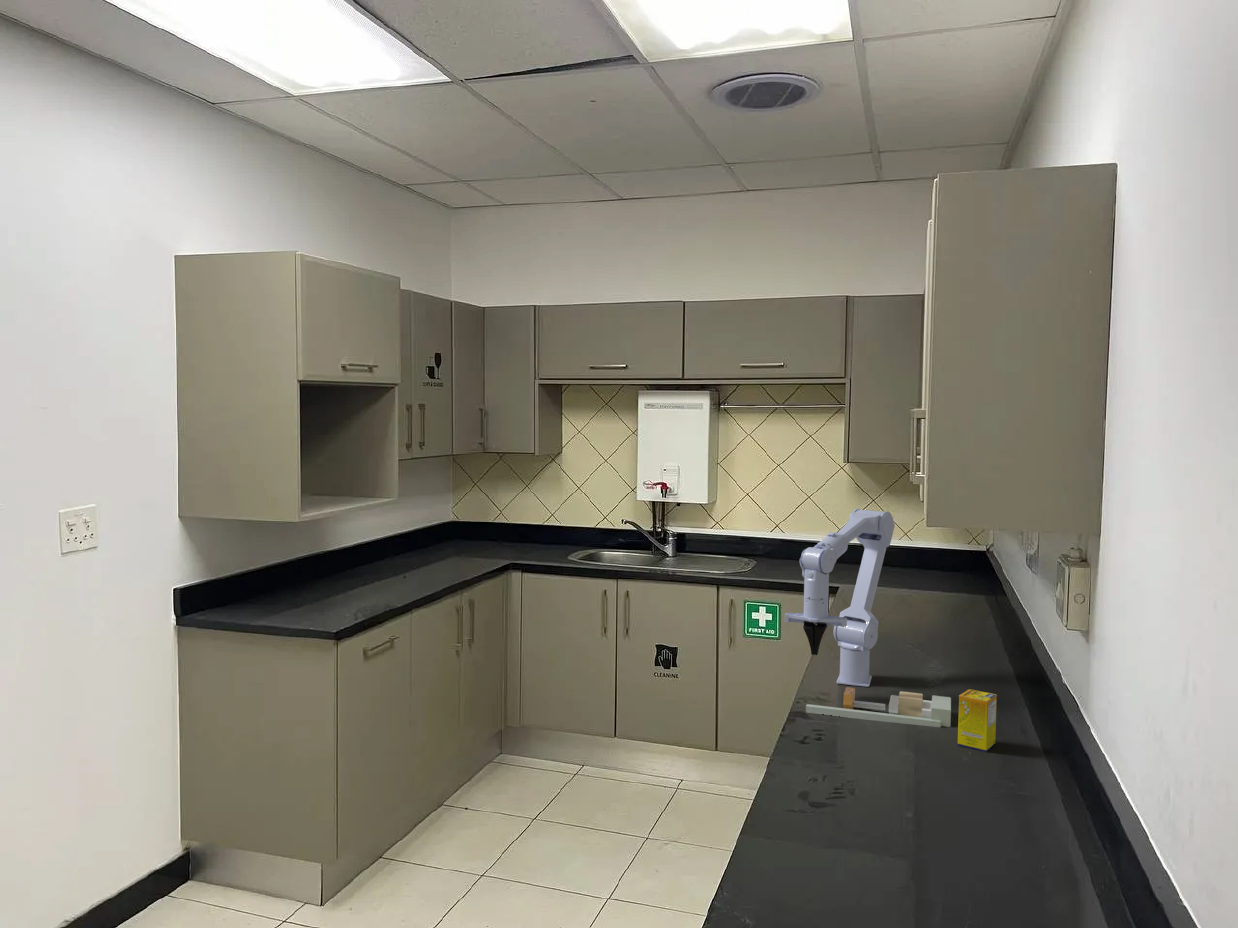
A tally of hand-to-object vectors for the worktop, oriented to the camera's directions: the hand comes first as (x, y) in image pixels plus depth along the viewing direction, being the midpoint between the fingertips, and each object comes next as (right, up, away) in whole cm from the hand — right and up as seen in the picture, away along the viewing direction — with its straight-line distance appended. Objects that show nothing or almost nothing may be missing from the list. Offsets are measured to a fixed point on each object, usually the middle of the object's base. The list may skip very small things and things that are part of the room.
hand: (814, 653), depth 222 cm
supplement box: (+26, -13, -32) cm, 44 cm away
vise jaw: (+11, -11, -11) cm, 19 cm away
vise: (+12, -11, -12) cm, 20 cm away
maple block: (+19, -12, -14) cm, 26 cm away
